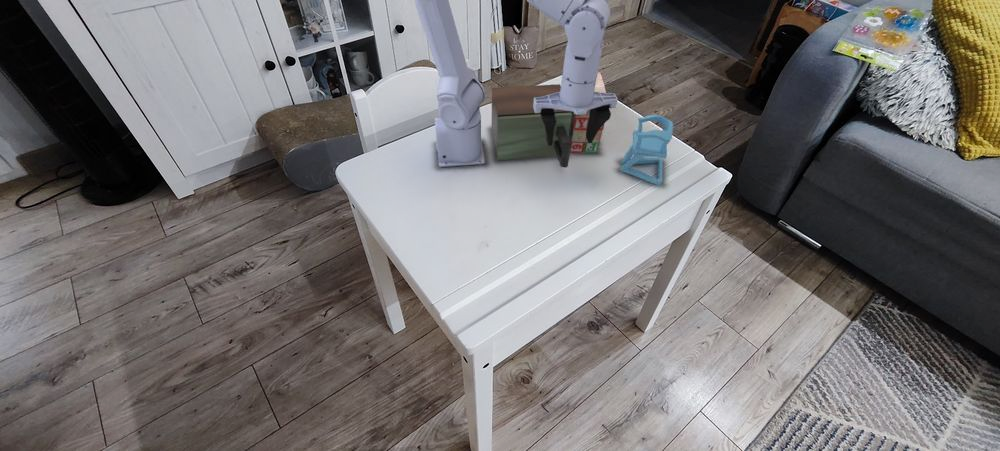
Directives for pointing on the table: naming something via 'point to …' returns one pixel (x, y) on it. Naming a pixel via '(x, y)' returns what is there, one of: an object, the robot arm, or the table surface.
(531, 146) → the cupboard door
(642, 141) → the chair
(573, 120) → the stack of blocks
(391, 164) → the table surface
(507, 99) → the cupboard
